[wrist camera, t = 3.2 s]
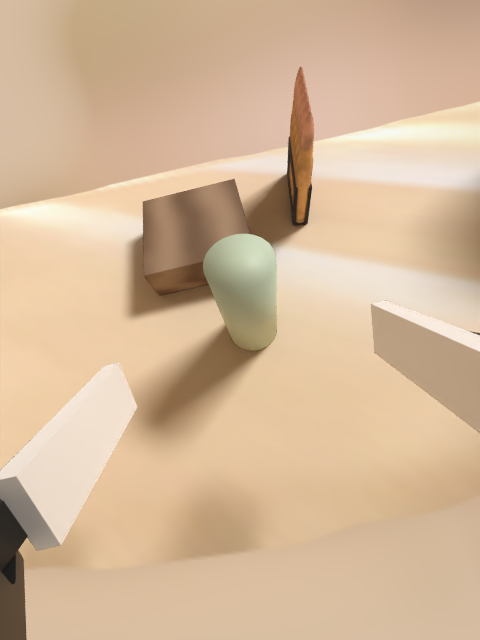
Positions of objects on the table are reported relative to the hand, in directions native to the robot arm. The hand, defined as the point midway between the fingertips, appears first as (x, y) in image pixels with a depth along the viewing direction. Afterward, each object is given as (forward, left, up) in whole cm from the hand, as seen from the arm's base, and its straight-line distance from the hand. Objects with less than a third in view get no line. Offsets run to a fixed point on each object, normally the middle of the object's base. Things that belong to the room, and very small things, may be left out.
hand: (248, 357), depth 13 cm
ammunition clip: (-11, -25, -12) cm, 30 cm away
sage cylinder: (-1, -7, -12) cm, 14 cm away
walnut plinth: (+3, -20, -12) cm, 24 cm away
